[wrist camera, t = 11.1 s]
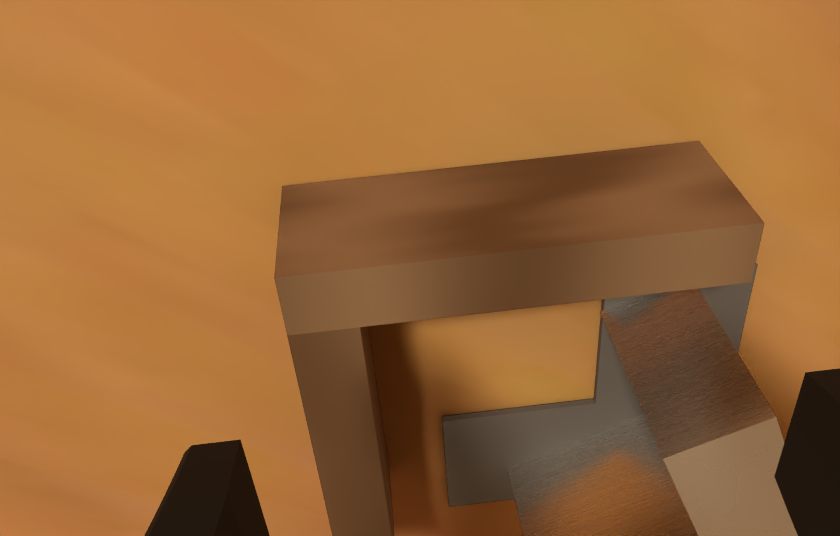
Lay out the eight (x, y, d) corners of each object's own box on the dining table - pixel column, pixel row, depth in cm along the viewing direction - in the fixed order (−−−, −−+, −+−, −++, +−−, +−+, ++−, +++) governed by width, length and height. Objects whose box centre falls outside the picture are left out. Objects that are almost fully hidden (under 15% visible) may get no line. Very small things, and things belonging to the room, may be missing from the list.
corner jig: (699, 140, 19) (764, 222, 16) (652, 441, 25) (693, 538, 22) (282, 186, 18) (274, 278, 16) (341, 479, 25) (343, 582, 22)
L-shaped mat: (754, 260, 21) (757, 264, 21) (707, 470, 26) (709, 475, 26) (432, 296, 21) (433, 301, 21) (448, 502, 26) (449, 506, 26)
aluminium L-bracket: (744, 431, 25) (824, 577, 21) (535, 508, 26) (573, 659, 22) (689, 274, 21) (776, 416, 17) (446, 374, 22) (473, 528, 18)
